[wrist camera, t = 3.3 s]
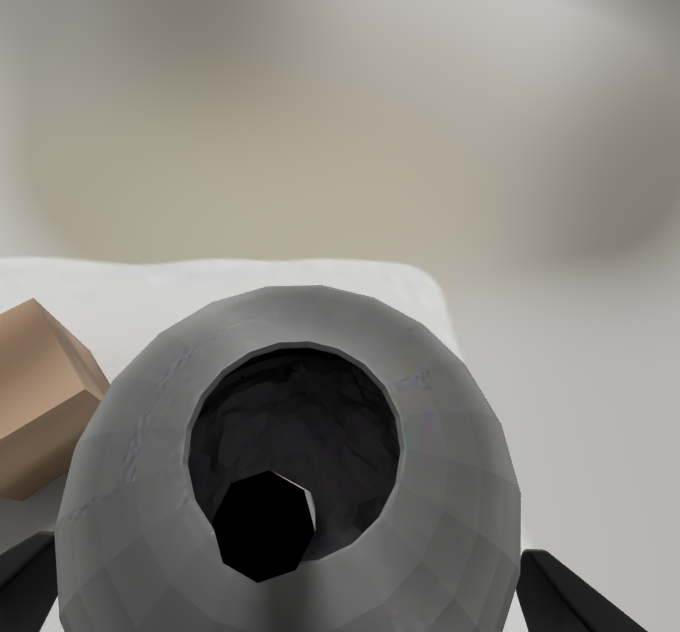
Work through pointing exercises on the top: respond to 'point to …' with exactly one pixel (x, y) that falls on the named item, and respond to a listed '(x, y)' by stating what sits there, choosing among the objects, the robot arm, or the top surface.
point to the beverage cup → (290, 479)
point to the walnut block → (42, 398)
